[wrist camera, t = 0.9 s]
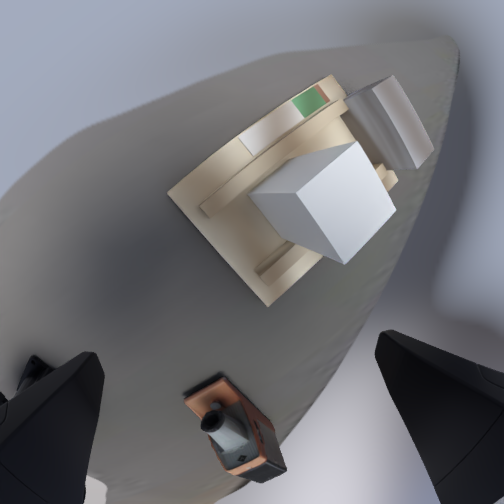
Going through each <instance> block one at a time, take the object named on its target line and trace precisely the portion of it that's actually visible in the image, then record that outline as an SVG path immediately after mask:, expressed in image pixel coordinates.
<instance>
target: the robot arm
mask: <svg viewBox="0 0 504 504" xmlns="http://www.w3.org/2000/svg"><path fill="white" fill-rule="evenodd" d="M375 358H376V361H377V363H378V366H379V368H380V371H381V373H382V376H383V378H384V381H385V383H386V386H387V389H388V391H389V393H390V395H391V397H392V400H393V401H394V403H395V405H396V407H397V409H398V411H399V413H400V415H401V417H402V419H403V421H404V423H405V425H406V427H407V429H408V431H409V433H410V436H411V437H412V440H413V442H414V444H415V446H416V448H417V450H418V452H419V455H420V457H421V459H422V461H423V463H424V466H425V468H426V470H427V472H428V474H429V477H430V479H431V481H432V484H433V486H434V489H435V491H436V494H437V496H438V498H439V501H440V503H441V504H504V373H503V372H499V371H496V370H493V369H491V368H488V367H485V366H483V365H480V364H476V363H475V362H472V361H469V360H467V359H464V358H462V357H459V356H457V355H454V354H452V353H449V352H446V351H444V350H441V349H439V348H436V347H434V346H431V345H429V344H426V343H424V342H421V341H419V340H417V339H414V338H412V337H409V336H406V335H404V334H402V333H399V332H397V331H394V330H386V331H382V332H381V333H380V334H379V338H378V341H377V345H376V349H375ZM34 361H35V362H34ZM104 379H105V375H104V371H103V368H102V366H101V363H100V361H99V359H98V356H97V354H96V353H94V352H87V351H84V352H82V353H80V354H79V355H77V356H76V357H74V358H73V359H71V360H70V361H68V362H67V363H65V364H64V365H62V366H61V367H59V368H58V369H56V370H55V371H53V370H52V369H51V368H49V367H48V366H47V365H45V364H44V363H43V362H42V361H41V360H39V359H38V358H37V357H35V356H31V357H30V359H29V361H28V363H27V365H26V368H25V370H24V373H23V375H22V378H21V380H20V383H19V385H18V388H17V393H16V394H15V396H14V398H12V399H11V400H9V401H8V400H7V399H6V398H5V396H4V395H3V394H2V393H1V392H0V504H83V503H84V500H85V494H86V487H85V481H86V475H87V469H88V464H89V458H90V453H91V449H92V444H93V439H94V435H95V431H96V426H97V422H98V418H99V412H100V404H101V398H102V391H103V385H104Z"/></svg>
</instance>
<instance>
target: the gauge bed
mask: <svg viewBox="0 0 504 504" xmlns="http://www.w3.org/2000/svg"><path fill="white" fill-rule="evenodd" d="M355 141H358V142H359V144H360V146H361V147H362V149H363V151H364V152H365V154H366V155H367V157H368V159H369V161H370V162H371V164H372V166H373V167H374V169H375V171H376V173H377V174H378V176H379V178H380V180H381V182H382V184H383V185H384V187H385V189H386V191H387V192H388V191H389V190H390V189H391V188H392V187H393V186H394V185H395V184H396V182H397V181H398V179H397V177H396V175H395V173H394V171H393V170H407V169H418V168H419V167H420V165H421V164H422V163H423V162H424V161H425V160H426V158H427V157H428V156H429V155H430V154H431V153H432V151H433V150H434V147H433V145H432V143H431V141H430V139H429V137H428V135H427V133H426V131H425V129H424V127H423V125H422V123H421V121H420V119H419V117H418V115H417V113H416V112H415V110H414V108H413V106H412V104H411V103H410V101H409V99H408V98H407V96H406V94H405V93H404V91H403V89H402V88H401V86H400V84H399V83H398V81H397V80H396V78H395V77H394V75H391V76H389V77H387V78H384V79H382V80H380V81H377V82H375V83H373V84H371V85H369V86H366V87H364V88H362V89H360V90H358V91H356V92H353V93H351V94H349V95H346V93H345V92H344V90H343V89H342V88H341V86H340V85H339V84H338V82H337V81H336V80H335V78H334V77H333V76H332V74H331V75H329V76H328V77H326V78H324V79H322V80H321V81H319V82H317V83H316V84H314V85H312V86H311V87H309V88H307V89H306V90H304V91H303V92H301V93H299V94H298V95H296V96H295V97H293V98H291V99H290V100H288V101H287V102H285V103H284V104H282V105H281V106H279V107H278V108H276V109H275V110H273V111H272V112H270V113H269V114H267V115H266V116H264V117H263V118H261V119H260V120H258V121H257V122H256V123H254V124H253V125H251V126H250V127H249V128H247V129H246V130H244V131H243V132H242V133H240V134H239V135H238V136H236V137H235V138H234V139H232V140H231V141H230V142H228V143H227V144H226V145H224V146H223V147H222V148H220V149H219V150H218V151H216V152H215V153H214V154H213V155H211V156H210V157H209V158H208V159H206V160H205V161H204V162H203V163H201V164H200V165H199V166H198V167H196V168H195V169H194V170H193V171H192V172H190V173H189V174H188V175H187V176H186V177H184V178H183V179H182V180H181V181H180V182H179V183H177V184H176V185H175V186H174V187H173V188H172V189H170V190H169V191H168V192H167V194H168V195H169V196H170V197H171V198H172V200H173V201H174V202H175V203H176V204H177V205H178V207H179V208H180V209H181V210H182V211H183V212H184V214H185V215H186V216H187V217H188V218H189V219H190V220H191V222H192V223H193V224H194V225H195V226H196V227H197V229H198V230H199V231H200V232H201V233H202V234H203V235H204V237H205V238H206V239H207V240H208V241H209V242H210V243H211V244H212V246H213V247H214V248H215V249H216V250H217V251H218V252H219V254H220V255H221V256H222V257H223V258H224V259H225V260H226V261H227V263H228V264H229V265H230V266H231V267H232V268H233V269H234V270H235V271H236V273H237V274H238V275H239V276H240V277H241V278H242V279H243V280H244V281H245V283H246V284H247V285H248V286H249V287H250V288H251V289H252V290H253V291H254V292H255V294H256V295H257V296H258V297H259V298H260V299H261V300H262V301H263V302H264V303H265V305H266V306H267V307H268V306H270V305H271V304H272V303H273V302H274V301H275V300H276V299H277V298H279V297H280V296H281V295H282V294H283V293H284V292H285V291H286V290H287V289H289V288H290V287H291V286H292V285H293V284H294V283H295V282H296V281H297V280H298V279H299V278H301V277H302V276H303V275H304V274H305V273H306V272H307V271H308V270H309V269H310V268H311V267H312V266H313V265H315V264H316V263H317V262H318V261H319V260H320V259H321V258H322V257H323V255H321V254H319V253H316V252H314V251H312V250H309V249H307V248H305V247H302V246H300V245H297V244H295V243H293V242H290V241H288V240H285V239H283V238H281V237H280V235H279V234H278V233H277V231H276V230H275V229H274V228H273V226H272V225H271V224H270V222H269V221H268V220H267V219H266V217H265V216H264V215H263V214H262V212H261V211H260V210H259V208H258V207H257V206H256V205H255V203H254V202H253V201H252V200H251V198H250V197H249V196H248V195H247V193H248V192H249V191H251V190H252V189H253V188H254V187H255V186H257V185H258V184H259V183H260V182H261V181H263V180H264V179H265V178H266V177H268V176H269V175H270V174H271V173H272V172H274V171H275V170H276V169H277V168H279V167H280V166H281V165H282V164H284V163H285V162H286V161H287V160H289V159H291V158H294V157H298V156H301V155H305V154H308V153H312V152H315V151H319V150H323V149H327V148H331V147H334V146H338V145H342V144H346V143H351V142H355Z"/></svg>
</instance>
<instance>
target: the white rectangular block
mask: <svg viewBox="0 0 504 504" xmlns="http://www.w3.org/2000/svg"><path fill="white" fill-rule="evenodd" d="M247 195H248V196H249V197H250V198H251V200H252V201H253V202H254V203H255V205H256V206H257V207H258V208H259V210H260V211H261V212H262V214H263V215H264V216H265V217H266V219H267V220H268V221H269V222H270V224H271V225H272V226H273V228H274V229H275V230H276V231H277V233H278V234H279V235H280V237H281V238H283V239H285V240H288V241H290V242H293V243H295V244H297V245H300V246H302V247H305V248H307V249H309V250H312V251H314V252H316V253H319V254H321V255H323V256H326V257H328V258H330V259H333V260H335V261H337V262H340V263H342V264H344V265H345V264H346V263H347V262H348V261H349V260H350V259H351V258H352V257H353V256H354V255H355V254H356V253H357V252H358V251H359V250H360V249H361V248H362V247H363V246H364V245H365V243H366V242H367V241H368V240H369V239H370V238H371V237H372V236H373V235H374V234H375V233H376V232H377V231H378V230H379V229H380V228H381V226H382V225H383V224H384V223H385V222H386V221H387V220H388V219H389V218H390V217H391V216H392V214H393V213H394V212H395V211H396V209H395V207H394V205H393V203H392V201H391V199H390V197H389V195H388V193H387V191H386V189H385V187H384V185H383V184H382V182H381V180H380V178H379V176H378V174H377V173H376V171H375V169H374V167H373V166H372V164H371V162H370V161H369V159H368V157H367V155H366V154H365V152H364V151H363V149H362V147H361V146H360V144H359V142H358V141H355V142H351V143H346V144H342V145H338V146H334V147H331V148H327V149H323V150H319V151H315V152H312V153H308V154H305V155H301V156H298V157H294V158H291V159H289V160H287V161H286V162H285V163H284V164H282V165H281V166H280V167H279V168H277V169H276V170H275V171H274V172H272V173H271V174H270V175H269V176H268V177H266V178H265V179H264V180H263V181H261V182H260V183H259V184H258V185H257V186H255V187H254V188H253V189H252V190H251V191H249V192H248V193H247Z"/></svg>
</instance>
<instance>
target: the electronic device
mask: <svg viewBox="0 0 504 504" xmlns="http://www.w3.org/2000/svg"><path fill="white" fill-rule="evenodd" d="M184 403H185V404H186V405H187V406H188V407H189V408H190V409H191V410H193V412H194V413H196V415H197V416H198V417H199V418H200V419H201V420H202V421H201V429H202V430H203V431H205V432H207V434H208V437H209V440H210V441H211V446H212V448H213V449H214V451H215V453H216V455H217V458H218V460H219V461H220V463H221V464H222V466H223V468H224V470H225V471H226V472H229V473H231V474H232V475H236V476H239V477H242V478H246V479H249V480H252V481H256V482H258V483H264V482H266V481H268V480H271V479H273V478H274V477H277V476H280V475H281V474H283V473H285V472H286V471H287V467H286V466H285V463H284V459H283V456H282V453H281V451H280V448H279V444H278V441H277V438H276V435H275V429H274V427H273V424H272V423H271V422H270V421H269V420H268V419H267V418H266V417H265V416H264V415H263V414H262V413H261V412H260V411H259V410H258V409H257V408H256V407H255V406H254V405H253V404H252V403H251V402H250V401H249V400H248V399H247V398H245V397H244V396H243V395H242V394H241V393H240V392H239V390H237V389H236V388H235V387H234V386H233V385H232V384H231V383H230V382H229V381H228V380H227V378H226V377H221V378H219V379H218V380H216V381H215V382H213V383H211V384H210V385H208V386H205V387H204V388H203V389H201V390H199V391H197V392H195V393H193V394H191V395H190V396H189V397H187V398H184Z"/></svg>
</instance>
